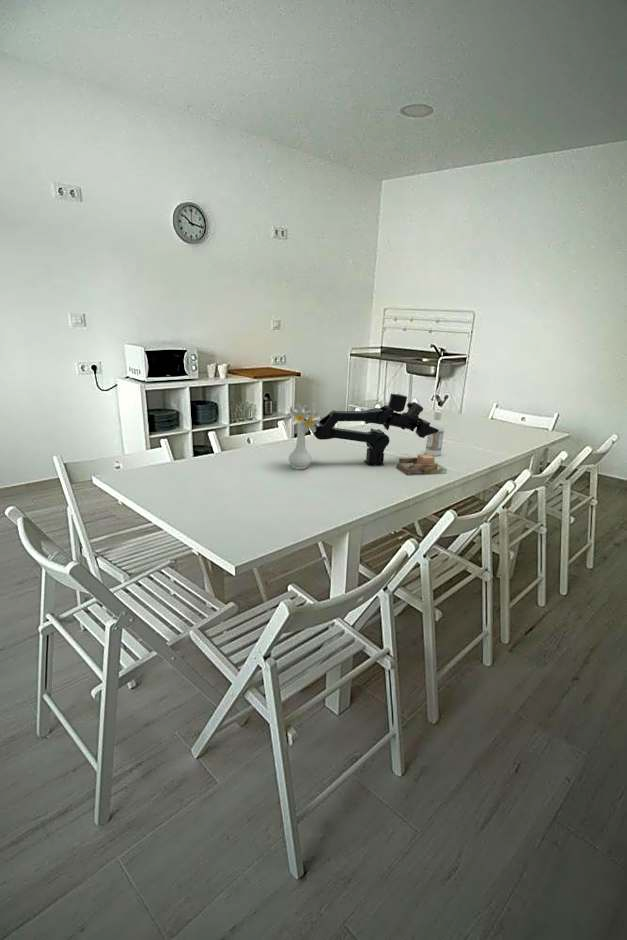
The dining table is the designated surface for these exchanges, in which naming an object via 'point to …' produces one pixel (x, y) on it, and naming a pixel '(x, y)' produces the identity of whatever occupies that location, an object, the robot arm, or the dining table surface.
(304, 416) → the flower vase
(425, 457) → the block
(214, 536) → the dining table surface
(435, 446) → the bath foam
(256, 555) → the dining table surface
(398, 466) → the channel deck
